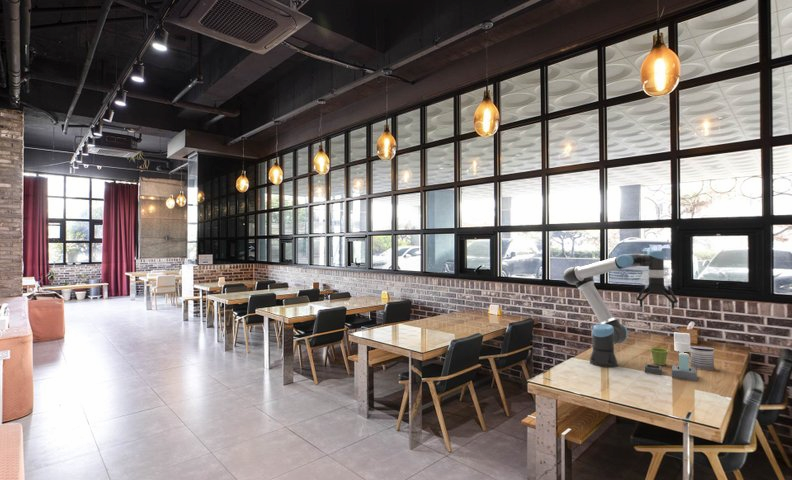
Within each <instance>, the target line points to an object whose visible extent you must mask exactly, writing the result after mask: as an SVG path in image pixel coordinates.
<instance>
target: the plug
mask: <svg viewBox="0 0 792 480" xmlns="http://www.w3.org/2000/svg"><path fill="white" fill-rule="evenodd" d="M678 366H679V370H686V371H689V367H690V354H689V353H684V352H678Z"/></svg>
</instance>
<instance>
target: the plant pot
mask: <svg viewBox="0 0 792 480" xmlns="http://www.w3.org/2000/svg"><path fill="white" fill-rule="evenodd" d="M649 349H650V353H651V356H652V363H653V365H657V366H665V365H666V363H667V356H668V352H669V350H668V349H665V348H661V347H652V348H651V347H650V348H649Z"/></svg>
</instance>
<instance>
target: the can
mask: <svg viewBox="0 0 792 480" xmlns="http://www.w3.org/2000/svg"><path fill="white" fill-rule="evenodd" d="M714 349H715V348H713V347H708V346H701V345H700V346H697V345H690V367H691V368H697V369H698V368H699V369H698V370H704V369H705V371H712V370H714V369H715V355H714V352H715V351H714Z"/></svg>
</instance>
